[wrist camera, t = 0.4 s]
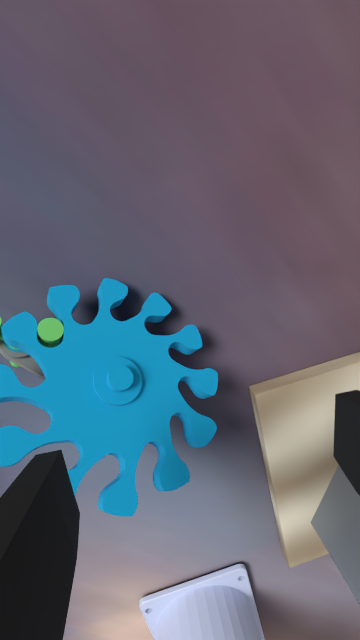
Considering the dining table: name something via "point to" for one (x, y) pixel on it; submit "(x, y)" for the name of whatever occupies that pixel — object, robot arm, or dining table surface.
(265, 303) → the dining table surface
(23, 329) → the blue cross piece
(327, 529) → the grey hollow rectangular block
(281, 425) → the shaft board
